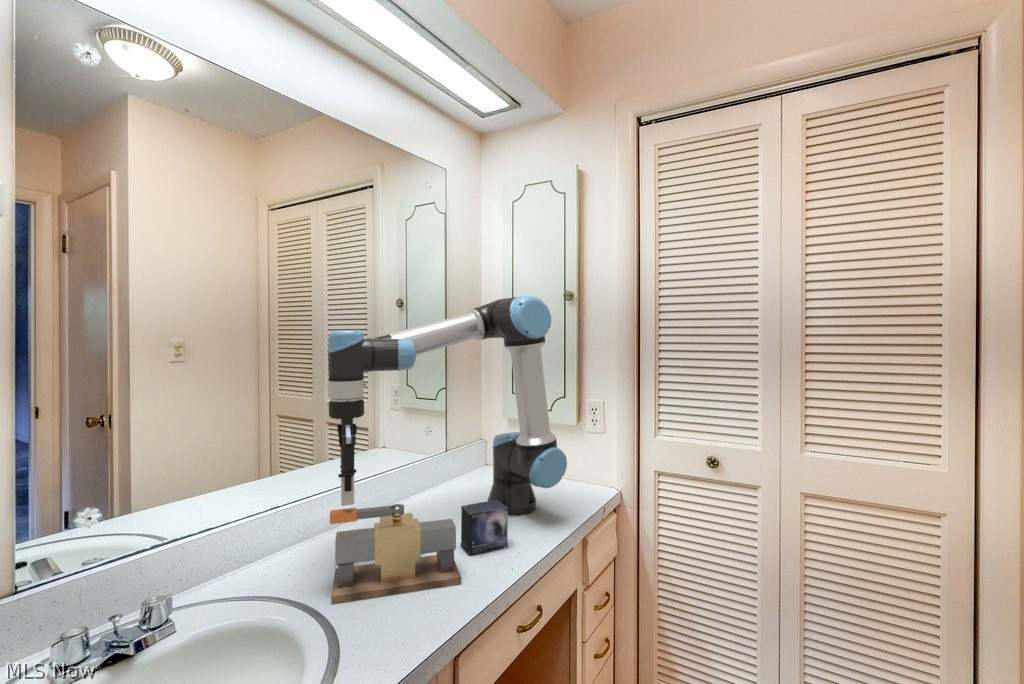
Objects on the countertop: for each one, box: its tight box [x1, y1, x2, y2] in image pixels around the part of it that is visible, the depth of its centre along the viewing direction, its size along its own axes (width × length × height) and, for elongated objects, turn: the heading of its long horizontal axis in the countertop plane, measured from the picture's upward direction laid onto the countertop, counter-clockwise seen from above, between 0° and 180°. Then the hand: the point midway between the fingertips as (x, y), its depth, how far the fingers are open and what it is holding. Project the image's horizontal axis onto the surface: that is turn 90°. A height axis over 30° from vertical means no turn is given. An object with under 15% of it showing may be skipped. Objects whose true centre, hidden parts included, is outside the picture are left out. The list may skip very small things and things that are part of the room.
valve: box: [334, 512, 457, 588], centre depth 103 cm, size 25×7×13 cm, turn 107°
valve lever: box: [329, 503, 405, 525], centre depth 101 cm, size 15×3×2 cm, turn 108°
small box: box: [460, 500, 509, 556], centre depth 119 cm, size 11×6×10 cm, turn 117°
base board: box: [331, 554, 462, 605], centre depth 103 cm, size 26×12×2 cm, turn 107°
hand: (347, 504), depth 106 cm, fingers closed
